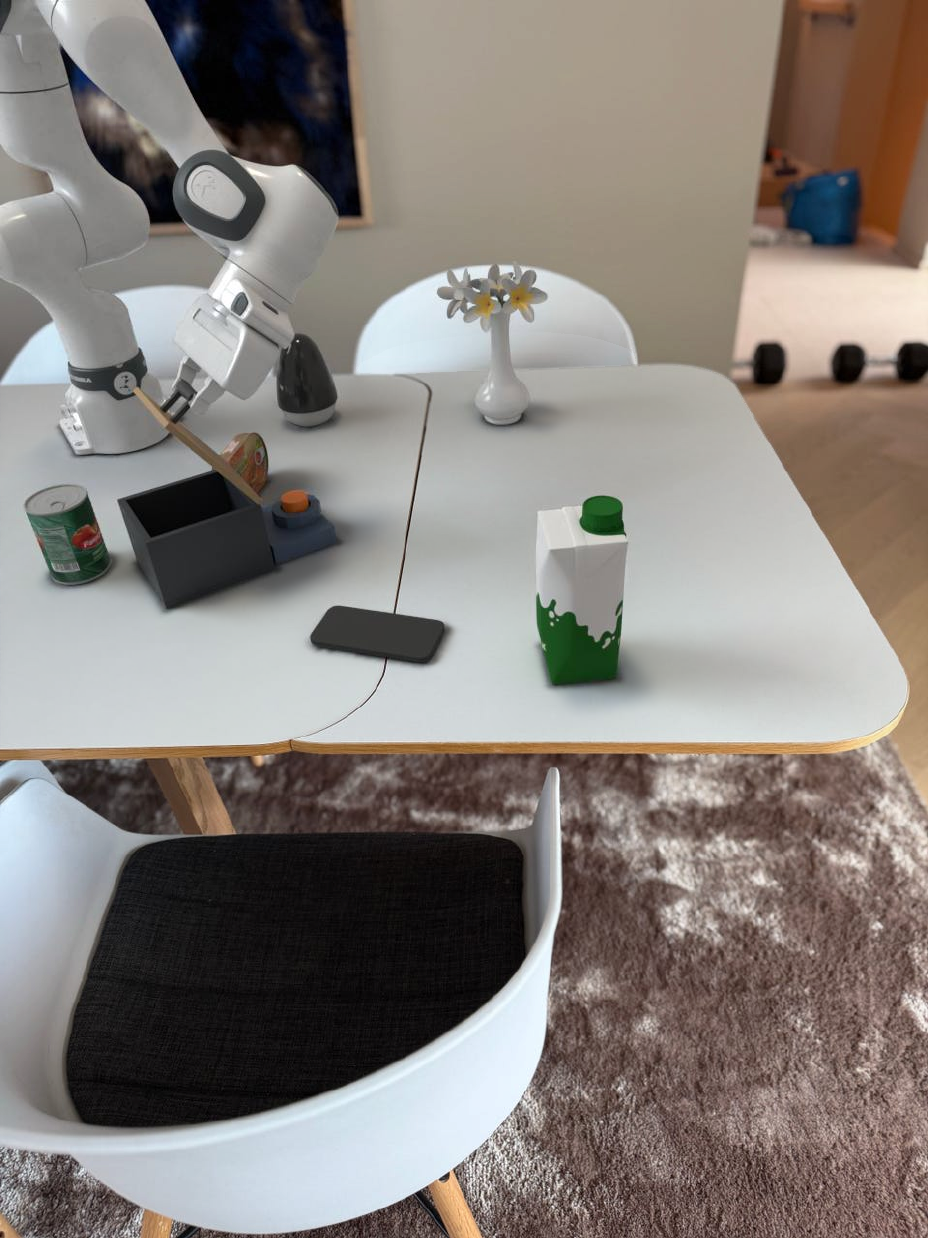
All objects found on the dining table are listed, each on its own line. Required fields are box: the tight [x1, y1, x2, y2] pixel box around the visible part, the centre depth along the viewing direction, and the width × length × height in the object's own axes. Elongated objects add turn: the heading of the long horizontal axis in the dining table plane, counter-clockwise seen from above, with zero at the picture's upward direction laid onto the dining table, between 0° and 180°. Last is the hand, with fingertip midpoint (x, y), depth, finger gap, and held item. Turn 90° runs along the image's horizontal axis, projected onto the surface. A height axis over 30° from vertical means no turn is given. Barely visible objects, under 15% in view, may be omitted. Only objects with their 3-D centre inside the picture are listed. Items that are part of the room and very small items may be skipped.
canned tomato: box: [23, 483, 112, 586], centre depth 121 cm, size 8×8×11 cm
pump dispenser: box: [275, 332, 339, 427], centre depth 153 cm, size 10×10×15 cm
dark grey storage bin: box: [116, 469, 276, 610], centre depth 120 cm, size 15×13×10 cm
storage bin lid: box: [133, 380, 263, 504], centre depth 114 cm, size 16×13×5 cm
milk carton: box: [535, 494, 629, 686], centre depth 96 cm, size 9×9×20 cm
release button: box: [280, 489, 309, 513], centre depth 125 cm, size 4×4×2 cm
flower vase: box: [436, 260, 549, 426], centre depth 147 cm, size 13×18×25 cm
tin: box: [211, 431, 270, 495], centre depth 135 cm, size 15×3×8 cm, turn 168°
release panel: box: [261, 493, 337, 565], centre depth 126 cm, size 9×11×4 cm
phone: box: [309, 605, 446, 663], centre depth 108 cm, size 7×1×15 cm
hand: (186, 402), depth 110 cm, fingers closed on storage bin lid, 5 cm apart
